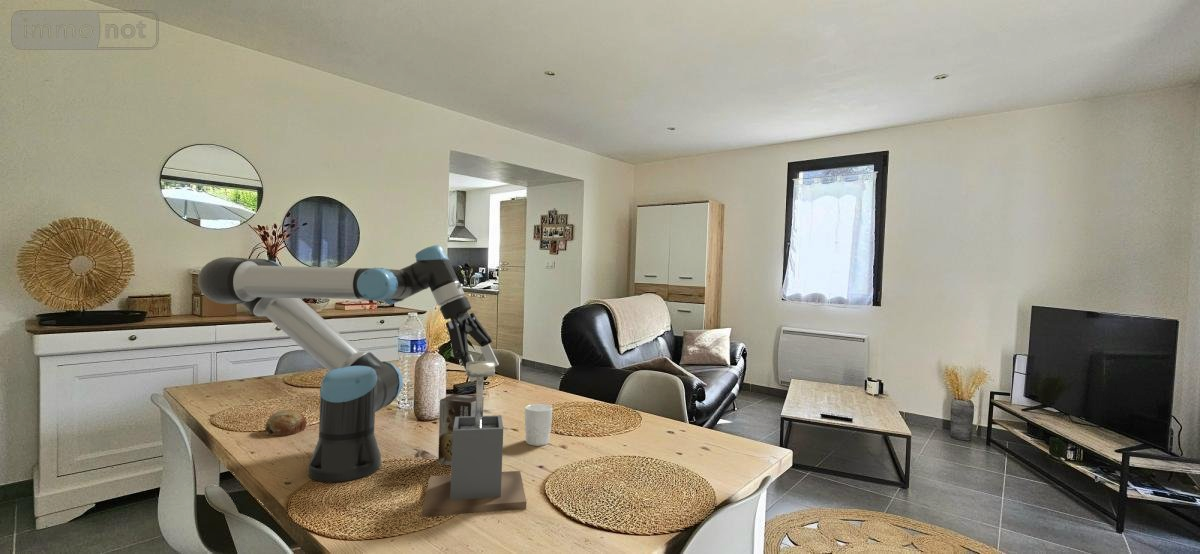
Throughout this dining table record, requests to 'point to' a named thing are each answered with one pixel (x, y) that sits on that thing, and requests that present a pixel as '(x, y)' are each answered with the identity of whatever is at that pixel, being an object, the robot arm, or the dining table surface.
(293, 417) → the brown rounded lump
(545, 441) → the white cup
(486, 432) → the box
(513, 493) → the base
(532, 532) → the dining table surface
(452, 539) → the dining table surface
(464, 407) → the coffee box
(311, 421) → the dining table surface
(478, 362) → the plunger
